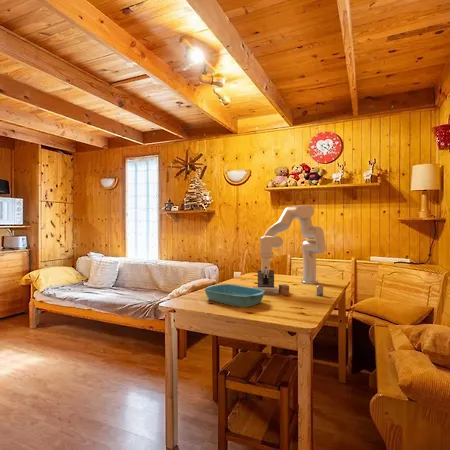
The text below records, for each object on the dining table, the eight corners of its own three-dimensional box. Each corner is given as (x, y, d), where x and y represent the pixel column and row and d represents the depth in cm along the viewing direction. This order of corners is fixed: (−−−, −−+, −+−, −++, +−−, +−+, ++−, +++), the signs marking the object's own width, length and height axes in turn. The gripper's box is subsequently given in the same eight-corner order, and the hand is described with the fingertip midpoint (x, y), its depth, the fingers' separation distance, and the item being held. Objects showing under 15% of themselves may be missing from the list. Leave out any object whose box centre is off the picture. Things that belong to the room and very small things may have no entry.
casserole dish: (197, 299, 180) (197, 287, 180) (222, 293, 197) (222, 282, 197) (248, 312, 156) (248, 297, 156) (272, 303, 173) (272, 290, 173)
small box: (273, 285, 204) (273, 269, 204) (274, 287, 198) (274, 271, 198) (257, 285, 206) (257, 269, 205) (257, 287, 199) (257, 271, 199)
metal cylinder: (315, 294, 194) (316, 285, 194) (322, 294, 194) (322, 285, 194) (317, 296, 190) (317, 286, 190) (323, 296, 190) (323, 286, 190)
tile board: (253, 288, 212) (253, 286, 212) (277, 289, 210) (277, 286, 210) (252, 294, 194) (252, 291, 194) (278, 295, 192) (278, 292, 192)
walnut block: (278, 292, 200) (278, 284, 200) (286, 292, 201) (286, 284, 201) (281, 294, 195) (281, 286, 195) (289, 293, 196) (289, 285, 196)
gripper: (260, 254, 211) (260, 280, 211) (260, 257, 193) (259, 285, 194) (271, 254, 210) (271, 281, 210) (272, 257, 193) (272, 286, 193)
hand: (265, 283), depth 202 cm, fingers closed on small box, 6 cm apart
